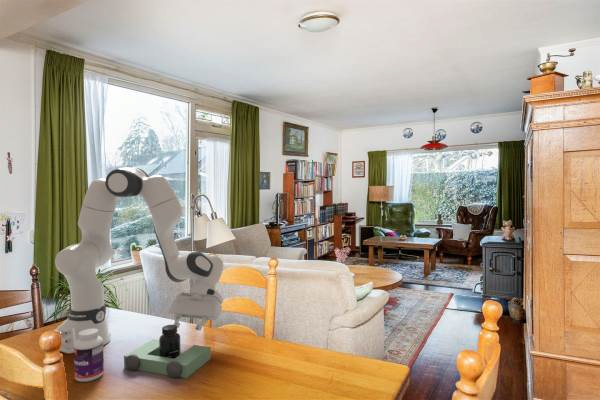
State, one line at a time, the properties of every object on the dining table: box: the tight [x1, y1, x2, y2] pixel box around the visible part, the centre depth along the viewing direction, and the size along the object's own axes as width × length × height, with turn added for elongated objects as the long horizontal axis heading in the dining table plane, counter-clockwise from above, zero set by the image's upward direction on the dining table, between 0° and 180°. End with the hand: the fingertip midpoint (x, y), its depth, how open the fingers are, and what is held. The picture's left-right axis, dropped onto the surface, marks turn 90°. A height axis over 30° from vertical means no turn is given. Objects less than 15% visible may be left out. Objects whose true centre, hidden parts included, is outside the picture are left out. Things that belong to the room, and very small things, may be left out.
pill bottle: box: [73, 329, 105, 383], centre depth 119 cm, size 8×8×14 cm
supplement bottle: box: [158, 324, 182, 359], centre depth 129 cm, size 7×7×12 cm
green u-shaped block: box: [123, 338, 212, 379], centre depth 127 cm, size 24×15×5 cm, turn 71°
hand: (186, 328), depth 137 cm, fingers open, 8 cm apart
